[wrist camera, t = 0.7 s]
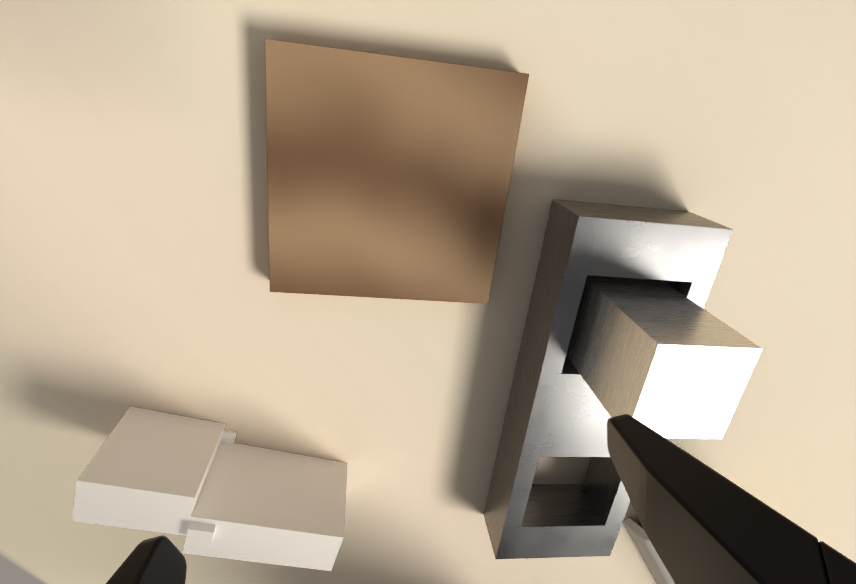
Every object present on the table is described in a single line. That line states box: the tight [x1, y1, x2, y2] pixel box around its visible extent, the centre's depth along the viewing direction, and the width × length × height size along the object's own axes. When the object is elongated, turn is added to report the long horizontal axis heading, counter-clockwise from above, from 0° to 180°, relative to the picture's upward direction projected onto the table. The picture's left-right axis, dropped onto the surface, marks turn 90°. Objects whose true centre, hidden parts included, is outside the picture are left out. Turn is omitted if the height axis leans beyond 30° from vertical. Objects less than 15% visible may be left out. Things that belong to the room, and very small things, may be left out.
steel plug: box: [566, 275, 762, 439], centre depth 21 cm, size 4×4×8 cm
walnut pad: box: [265, 39, 529, 304], centre depth 20 cm, size 10×10×1 cm
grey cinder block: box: [484, 200, 733, 559], centre depth 25 cm, size 20×7×3 cm, turn 174°
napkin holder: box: [73, 406, 347, 571], centre depth 23 cm, size 15×11×6 cm
